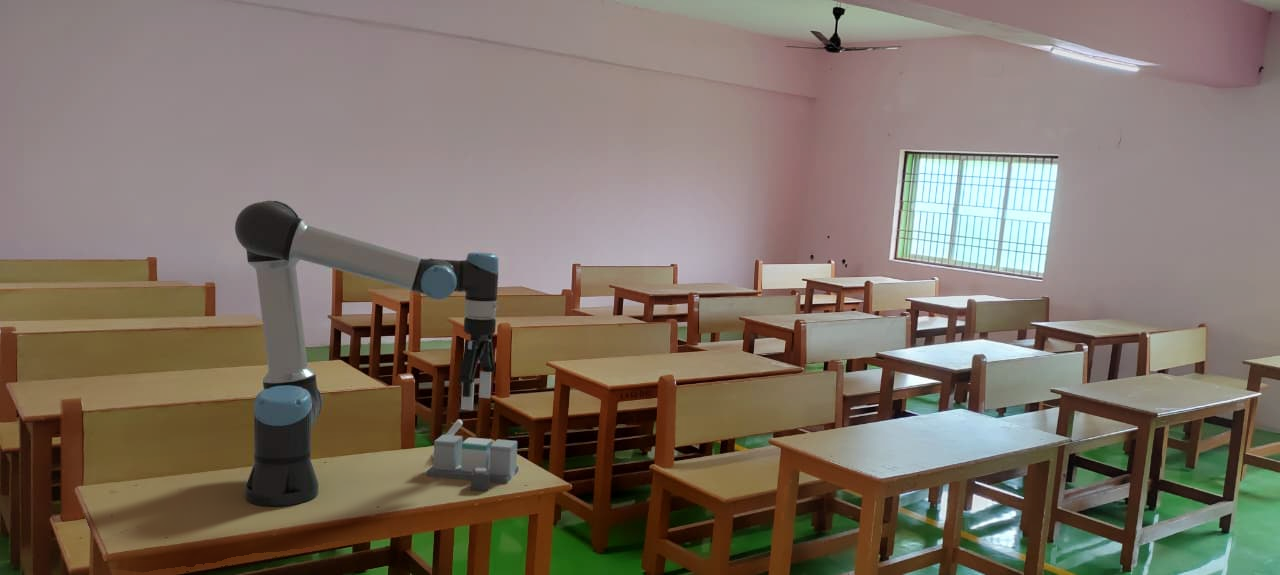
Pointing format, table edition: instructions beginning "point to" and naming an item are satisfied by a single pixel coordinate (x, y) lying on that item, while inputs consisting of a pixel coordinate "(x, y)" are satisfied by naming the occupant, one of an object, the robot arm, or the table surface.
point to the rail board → (451, 459)
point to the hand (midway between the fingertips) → (475, 403)
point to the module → (475, 454)
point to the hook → (453, 429)
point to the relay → (480, 479)
